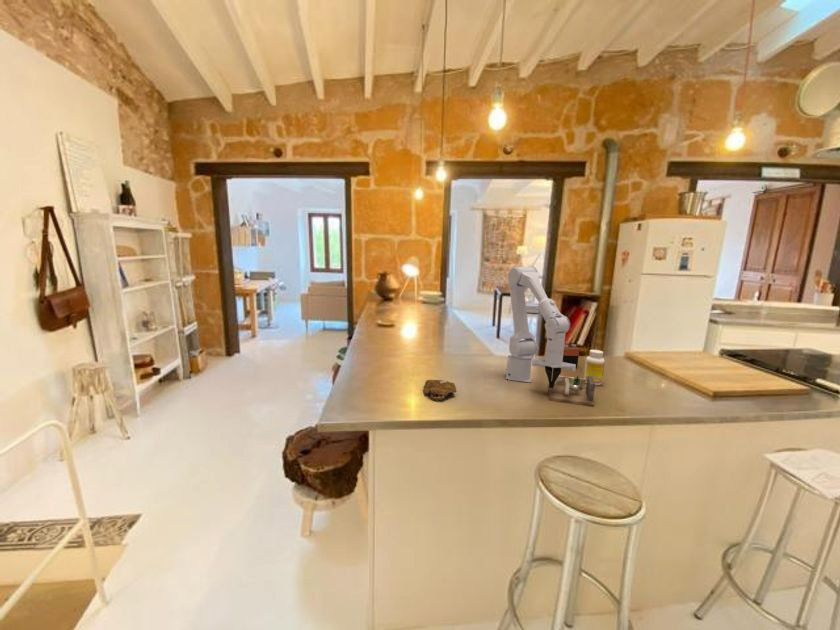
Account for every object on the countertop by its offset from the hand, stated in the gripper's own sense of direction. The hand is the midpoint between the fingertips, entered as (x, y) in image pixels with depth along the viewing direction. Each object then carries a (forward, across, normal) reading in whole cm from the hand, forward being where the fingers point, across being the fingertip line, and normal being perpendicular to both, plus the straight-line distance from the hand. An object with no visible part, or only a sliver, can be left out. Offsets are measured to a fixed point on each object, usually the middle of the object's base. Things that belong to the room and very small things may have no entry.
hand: (551, 387), depth 135 cm
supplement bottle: (+3, +16, +18) cm, 24 cm away
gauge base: (+2, +6, +1) cm, 7 cm away
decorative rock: (+3, -37, -15) cm, 40 cm away
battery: (+3, +8, +36) cm, 37 cm away
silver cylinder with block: (+1, +7, +2) cm, 8 cm away
